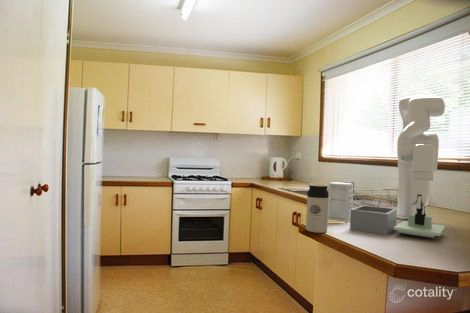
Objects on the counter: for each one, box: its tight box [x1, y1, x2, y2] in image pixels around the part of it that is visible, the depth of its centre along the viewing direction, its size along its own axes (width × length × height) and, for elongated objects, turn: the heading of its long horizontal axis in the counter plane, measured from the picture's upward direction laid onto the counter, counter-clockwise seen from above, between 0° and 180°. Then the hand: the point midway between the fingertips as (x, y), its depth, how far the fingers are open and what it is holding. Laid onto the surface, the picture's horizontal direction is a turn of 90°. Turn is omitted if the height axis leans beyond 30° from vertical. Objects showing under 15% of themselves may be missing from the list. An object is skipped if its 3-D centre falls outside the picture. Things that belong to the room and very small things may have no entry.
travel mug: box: [305, 182, 329, 234], centre depth 144 cm, size 8×8×18 cm
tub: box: [349, 204, 398, 236], centre depth 154 cm, size 18×14×8 cm
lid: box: [393, 214, 445, 239], centre depth 144 cm, size 19×15×6 cm
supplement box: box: [327, 181, 354, 222], centre depth 174 cm, size 10×9×17 cm
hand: (420, 223), depth 144 cm, fingers closed on lid, 2 cm apart
